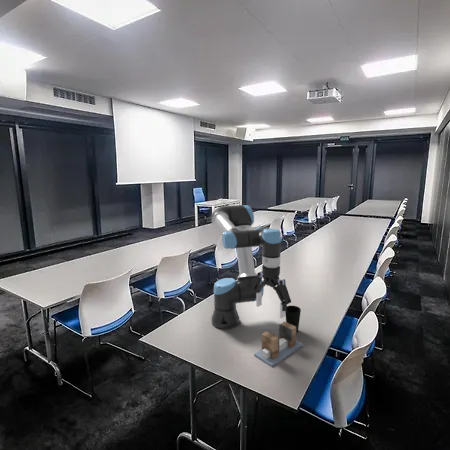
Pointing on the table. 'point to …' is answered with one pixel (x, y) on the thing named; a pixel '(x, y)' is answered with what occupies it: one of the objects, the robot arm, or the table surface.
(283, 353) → the rail
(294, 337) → the fixed jaw
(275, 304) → the table surface
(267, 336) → the two-tone tabbed box
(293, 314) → the cup
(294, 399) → the table surface
